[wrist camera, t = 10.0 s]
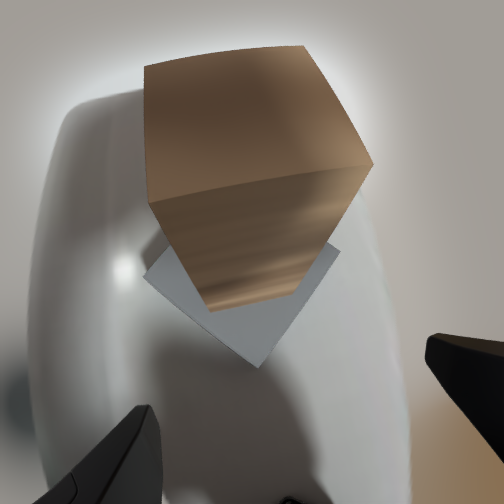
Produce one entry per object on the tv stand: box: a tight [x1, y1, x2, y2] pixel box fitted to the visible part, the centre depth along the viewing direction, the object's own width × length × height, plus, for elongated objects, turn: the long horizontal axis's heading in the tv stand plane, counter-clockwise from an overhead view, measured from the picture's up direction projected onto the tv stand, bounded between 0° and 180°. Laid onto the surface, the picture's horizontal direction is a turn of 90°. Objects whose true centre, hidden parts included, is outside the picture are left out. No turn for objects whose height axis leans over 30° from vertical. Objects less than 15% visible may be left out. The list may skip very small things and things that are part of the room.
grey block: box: [143, 242, 341, 368], centre depth 21 cm, size 9×9×2 cm
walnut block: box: [144, 46, 373, 313], centre depth 13 cm, size 5×5×13 cm
